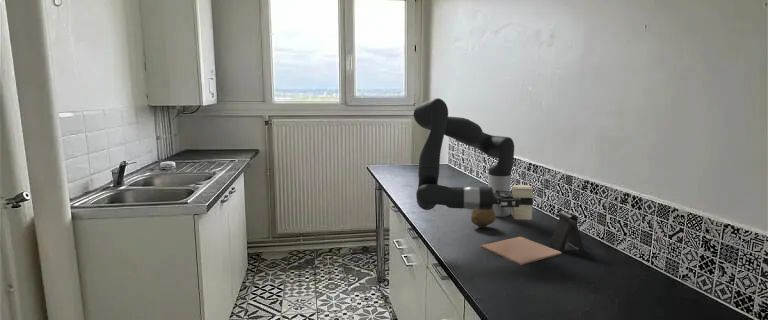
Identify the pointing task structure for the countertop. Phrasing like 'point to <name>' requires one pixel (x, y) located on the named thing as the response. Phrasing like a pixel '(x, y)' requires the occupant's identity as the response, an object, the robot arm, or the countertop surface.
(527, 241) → the terracotta tile
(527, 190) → the maple block
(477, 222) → the natural sponge
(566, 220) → the phone stand
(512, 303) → the countertop surface
